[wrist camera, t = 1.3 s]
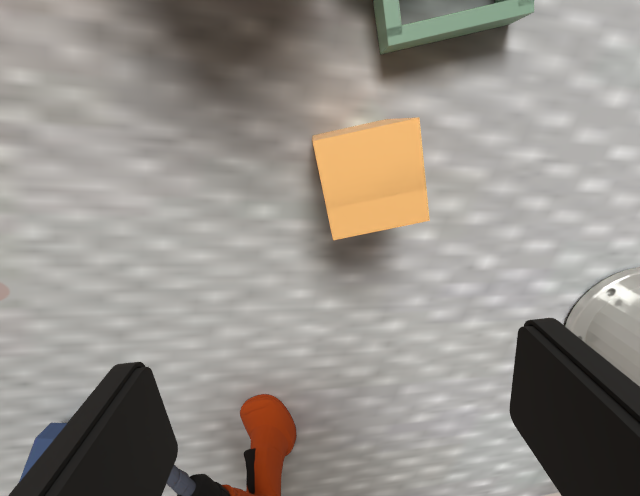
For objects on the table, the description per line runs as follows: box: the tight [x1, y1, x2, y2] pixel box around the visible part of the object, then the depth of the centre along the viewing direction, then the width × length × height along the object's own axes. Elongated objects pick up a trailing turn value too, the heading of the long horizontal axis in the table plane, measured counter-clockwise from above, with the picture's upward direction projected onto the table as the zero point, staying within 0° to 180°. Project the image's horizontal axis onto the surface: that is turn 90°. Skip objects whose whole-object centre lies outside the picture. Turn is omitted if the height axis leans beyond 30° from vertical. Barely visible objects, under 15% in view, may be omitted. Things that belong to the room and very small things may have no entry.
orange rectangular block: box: [313, 118, 430, 240], centre depth 24 cm, size 6×6×9 cm
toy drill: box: [167, 394, 296, 496], centre depth 29 cm, size 5×19×15 cm, turn 25°
